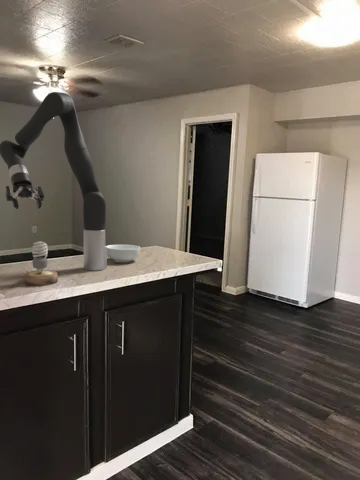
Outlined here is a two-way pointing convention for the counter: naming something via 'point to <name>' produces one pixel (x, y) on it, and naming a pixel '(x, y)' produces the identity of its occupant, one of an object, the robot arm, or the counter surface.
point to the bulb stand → (40, 278)
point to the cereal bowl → (123, 252)
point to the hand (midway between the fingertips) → (28, 207)
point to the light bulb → (40, 262)
